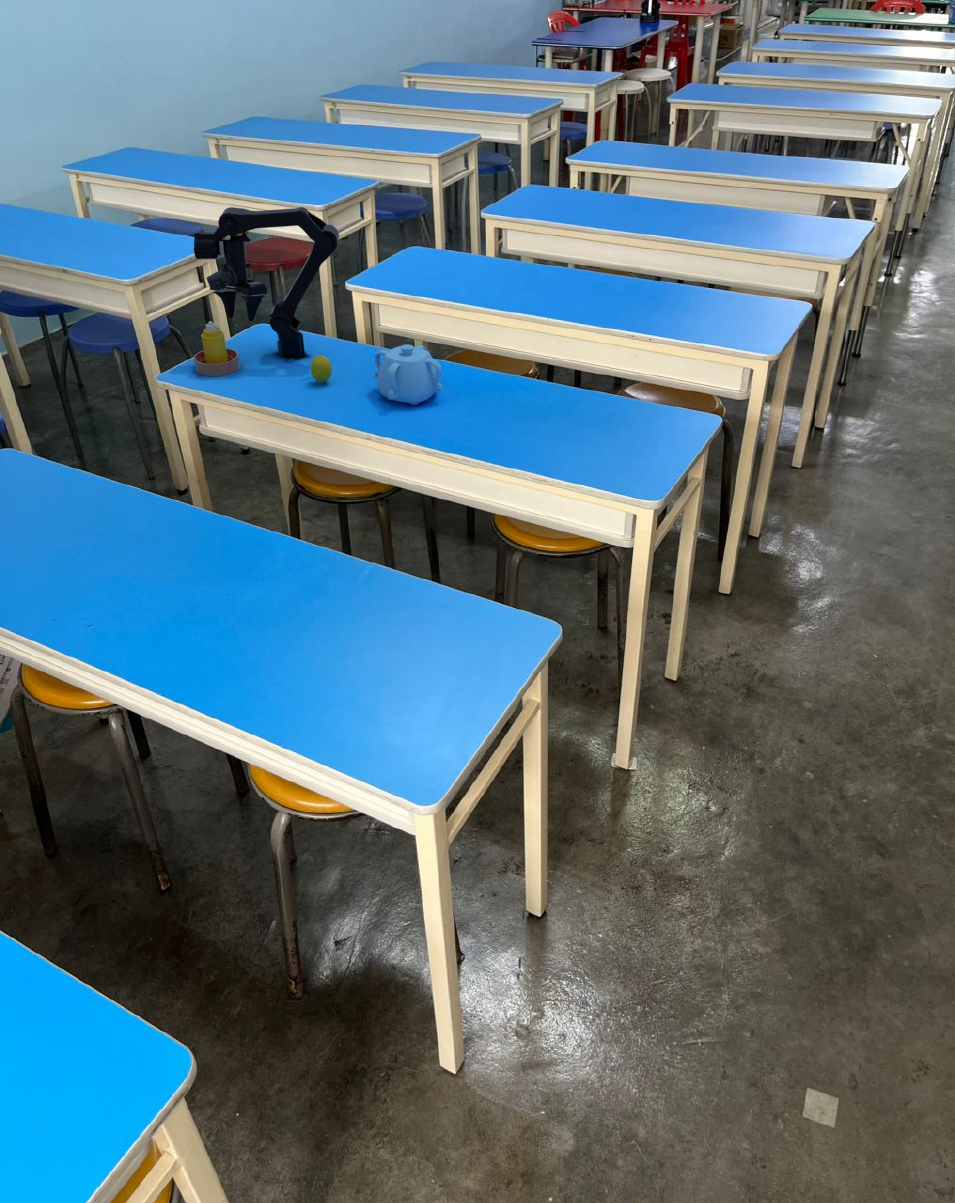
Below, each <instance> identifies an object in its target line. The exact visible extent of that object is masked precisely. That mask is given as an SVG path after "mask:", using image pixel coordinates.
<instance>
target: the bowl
mask: <svg viewBox="0 0 955 1203" xmlns="http://www.w3.org/2000/svg"><path fill="white" fill-rule="evenodd" d="M226 350H227V356H228V362H224V363H219V364H206V360H205V354H204V349H203V350H201V351H198V352H197V353H195V354H194V356H193V363H194V368H195V372H196V373H197V374H198V375H201V376H206V377H223V376H224V377H225V376H228V375H231V374H234V373H236V372H237V371H239V370H240V368H241V360H240V356H239V352H238V350H236V349H233V348H228V347H226Z"/></svg>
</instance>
